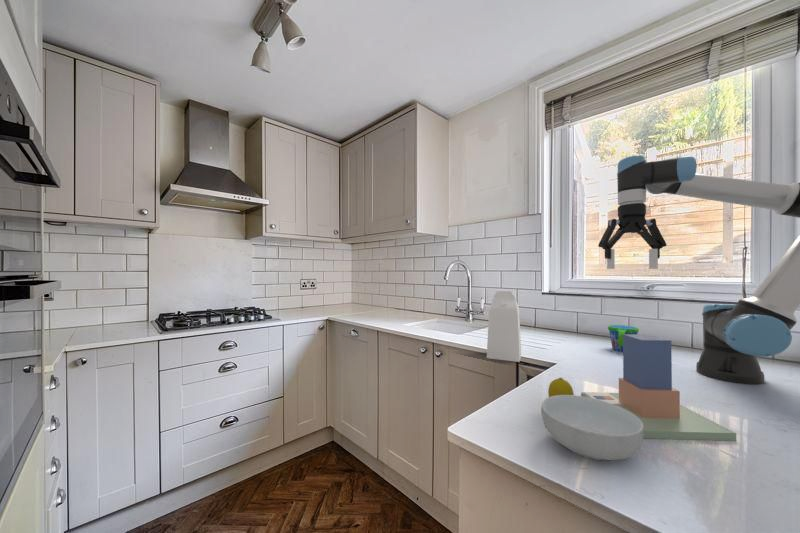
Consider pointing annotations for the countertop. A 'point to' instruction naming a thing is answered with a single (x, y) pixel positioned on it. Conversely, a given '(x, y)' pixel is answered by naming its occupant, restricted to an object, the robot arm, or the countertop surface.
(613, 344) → the snack cup
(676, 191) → the robot arm
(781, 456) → the countertop surface
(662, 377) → the navy brick
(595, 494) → the countertop surface
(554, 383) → the lemon
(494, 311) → the milk
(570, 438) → the cereal bowl
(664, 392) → the baseplate tower
